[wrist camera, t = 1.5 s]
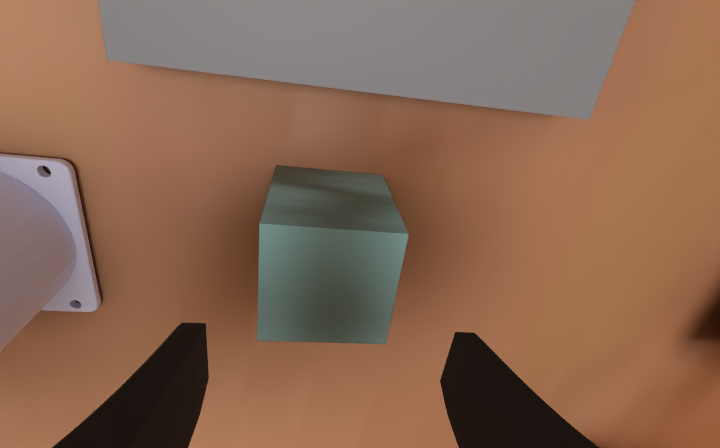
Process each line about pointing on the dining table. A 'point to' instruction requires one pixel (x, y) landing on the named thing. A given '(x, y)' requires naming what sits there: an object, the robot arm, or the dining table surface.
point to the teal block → (328, 257)
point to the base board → (386, 46)
